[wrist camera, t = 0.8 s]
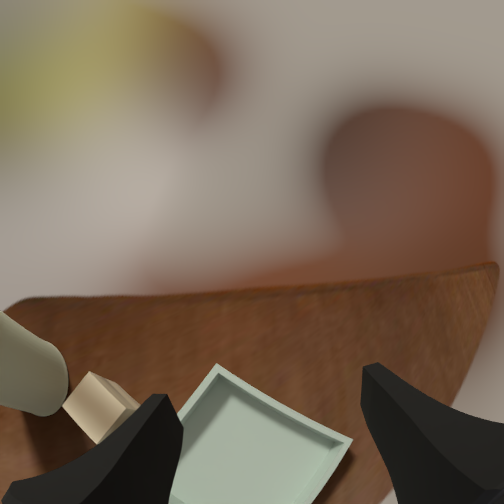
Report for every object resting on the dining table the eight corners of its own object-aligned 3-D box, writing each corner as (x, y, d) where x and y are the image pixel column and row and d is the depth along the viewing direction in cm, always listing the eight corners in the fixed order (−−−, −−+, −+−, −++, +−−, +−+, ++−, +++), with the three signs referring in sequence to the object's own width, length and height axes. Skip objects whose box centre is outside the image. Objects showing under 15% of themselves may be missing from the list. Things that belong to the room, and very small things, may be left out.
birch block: (124, 441, 19) (96, 444, 14) (93, 412, 20) (61, 405, 16) (148, 412, 21) (126, 408, 17) (116, 383, 23) (89, 371, 18)
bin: (261, 544, 14) (264, 556, 11) (136, 471, 18) (125, 476, 15) (341, 438, 21) (353, 439, 18) (218, 369, 25) (216, 363, 22)
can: (75, 414, 20) (-3, 394, 10) (19, 417, 18) (-55, 394, 8) (64, 335, 25) (-1, 282, 15) (12, 346, 22) (-51, 302, 13)
